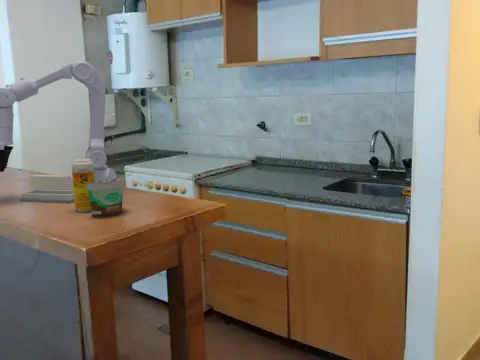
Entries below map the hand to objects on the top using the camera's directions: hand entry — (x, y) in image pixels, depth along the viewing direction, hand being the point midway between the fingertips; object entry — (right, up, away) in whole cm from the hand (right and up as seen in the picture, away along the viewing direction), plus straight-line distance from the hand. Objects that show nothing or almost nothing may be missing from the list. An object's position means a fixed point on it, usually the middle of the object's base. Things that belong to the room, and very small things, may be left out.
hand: (1, 169), depth 157 cm
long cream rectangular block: (+10, -8, +16) cm, 20 cm away
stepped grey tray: (+15, -9, +5) cm, 18 cm away
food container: (+40, -13, -16) cm, 45 cm away
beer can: (+30, -12, -11) cm, 35 cm away
